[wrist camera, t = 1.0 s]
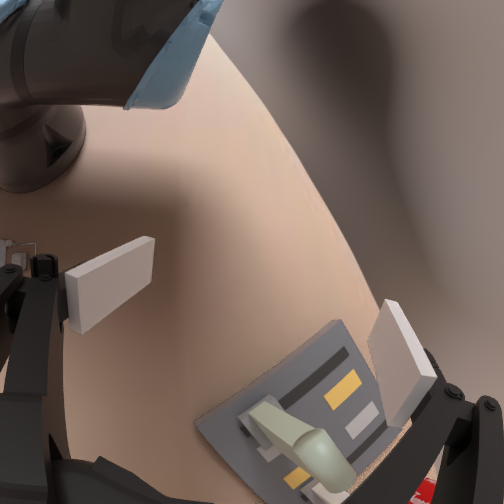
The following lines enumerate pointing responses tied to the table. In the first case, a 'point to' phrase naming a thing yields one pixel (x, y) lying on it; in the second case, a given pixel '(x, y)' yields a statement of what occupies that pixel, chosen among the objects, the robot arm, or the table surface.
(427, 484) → the soda can
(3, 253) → the grey plastic bracket
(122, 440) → the table surface
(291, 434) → the sage lever
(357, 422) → the switch base
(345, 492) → the white lever
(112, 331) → the table surface
